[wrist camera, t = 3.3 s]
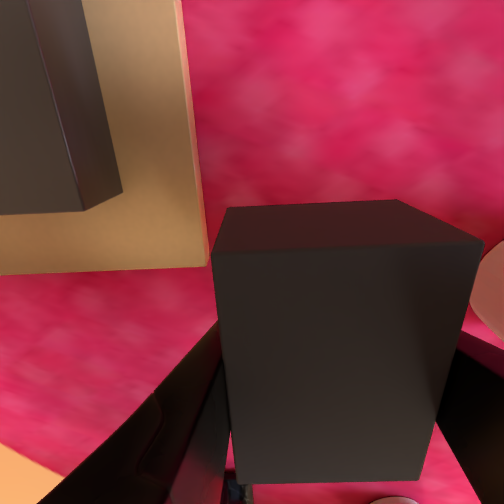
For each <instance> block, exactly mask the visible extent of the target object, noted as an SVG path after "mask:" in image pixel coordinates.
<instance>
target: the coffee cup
mask: <svg viewBox="0 0 504 504" xmlns="http://www.w3.org/2000/svg"><path fill="white" fill-rule="evenodd" d="M469 301H470V305H471V307H472V309H473V311H474V313H475V314H476V315H477V316H478V317H479V318H480V319H481V320H482V321H483V322H484V323H485V324H486V325H487V326H488V327H489V328H490V329H491V330H492V331H493V332H494V333H495V334H496V335H497V336H498V337H499V338H500V339H501V340H502V341H503V342H504V240H503V241H502V242H500V243H499V244H498V245H496V246H495V247H494V248H493V249H492V250H491V251H490V252H489V253H487V254H486V255H485V257H484V258H483V259H482V261H481V262H480V264H479V268H478V271H477V275H476V278H475V282H474V285H473V289H472V293H471V296H470V300H469Z"/></svg>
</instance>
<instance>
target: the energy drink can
mask: <svg viewBox="0 0 504 504" xmlns="http://www.w3.org/2000/svg"><path fill="white" fill-rule="evenodd" d="M370 504H418V503H417V502H416V501H414V500H412V499H409V498H405V497H387V498H382V499H379V500H376V501H373V502H372V503H370Z"/></svg>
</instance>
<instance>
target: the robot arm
mask: <svg viewBox="0 0 504 504" xmlns="http://www.w3.org/2000/svg"><path fill="white" fill-rule="evenodd" d="M436 423H437V425H438V426H439V428H440V430H441V432H442V434H443V435H444V437H445V439H446V441H447V443H448V444H449V446H450V448H451V450H452V452H453V453H454V455H455V457H456V459H457V461H458V462H459V464H460V466H461V468H462V469H463V471H464V473H465V475H466V477H467V478H468V480H469V482H470V484H471V486H472V487H473V489H474V491H475V493H476V495H477V496H478V498H479V500H480V502H481V503H482V504H504V350H502V349H500V348H498V347H496V346H494V345H492V344H490V343H487V342H485V341H483V340H481V339H479V338H477V337H475V336H472V335H470V334H468V333H466V332H464V331H462V330H461V332H460V335H459V339H458V343H457V346H456V350H455V353H454V357H453V360H452V364H451V368H450V371H449V375H448V378H447V382H446V385H445V389H444V393H443V396H442V400H441V403H440V407H439V410H438V414H437V418H436ZM230 430H231V426H230V417H229V408H228V399H227V390H226V381H225V372H224V364H223V358H222V350H221V342H220V333H219V324H218V320H217V321H216V323H215V324H214V325H213V326H212V327H211V328H210V329H209V330H208V331H207V332H206V334H205V335H204V336H203V337H202V338H201V339H200V340H199V341H198V342H197V344H196V345H195V346H194V347H193V348H192V349H191V350H190V351H189V352H188V354H187V355H186V356H185V357H184V358H183V359H182V360H181V361H180V362H179V364H178V365H177V366H176V367H175V368H174V369H173V370H172V371H171V372H170V373H169V375H168V376H167V377H166V378H165V379H164V380H163V381H162V382H161V383H160V385H159V386H158V387H157V388H156V389H155V390H154V392H153V393H151V394H150V395H149V397H148V398H147V399H146V400H145V401H144V402H143V403H142V404H141V405H140V406H139V407H138V409H137V410H136V411H135V412H134V413H133V414H132V415H131V416H130V417H129V418H128V419H127V420H126V421H125V422H124V423H123V424H122V425H121V426H120V427H119V428H118V429H117V430H116V431H115V432H114V433H113V434H112V435H111V436H110V437H109V438H108V439H107V440H105V441H104V442H103V443H102V444H101V445H100V446H99V447H98V448H97V449H96V450H95V451H94V452H93V453H91V454H90V455H89V456H88V457H87V458H86V459H85V460H84V461H83V462H82V463H81V464H80V465H79V466H77V467H76V468H75V469H74V470H73V471H72V472H71V473H70V474H69V475H68V476H67V477H66V478H65V479H63V480H62V481H61V482H60V483H59V484H58V485H57V486H56V487H55V488H54V489H53V490H52V491H51V492H49V493H48V494H47V495H46V496H45V497H44V498H43V499H41V500H40V501H39V502H38V503H37V504H254V501H253V488H252V484H238V483H237V481H236V473H224V472H225V465H226V458H227V451H228V444H229V437H230Z"/></svg>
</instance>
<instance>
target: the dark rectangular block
mask: <svg viewBox="0 0 504 504" xmlns="http://www.w3.org/2000/svg"><path fill="white" fill-rule="evenodd" d="M484 246H485V242H484V241H483V240H481V239H479V238H477V237H475V236H473V235H471V234H469V233H467V232H465V231H462V230H460V229H458V228H456V227H454V226H452V225H450V224H448V223H446V222H443V221H441V220H439V219H437V218H435V217H433V216H431V215H429V214H427V213H425V212H422V211H420V210H418V209H416V208H414V207H412V206H410V205H408V204H406V203H403V202H401V201H399V200H397V199H394V200H373V201H352V202H331V203H310V204H289V205H268V206H247V207H229V208H227V210H226V213H225V216H224V219H223V221H222V224H221V227H220V230H219V233H218V236H217V238H216V241H215V244H214V247H213V250H212V252H211V263H212V272H213V281H214V290H215V298H216V307H217V316H218V324H219V333H220V342H221V350H222V358H223V364H224V372H225V381H226V390H227V399H228V408H229V417H230V426H231V437H232V446H233V455H234V464H235V472H236V481H237V483H238V484H285V483H331V482H377V481H417V480H419V478H420V475H421V471H422V468H423V464H424V460H425V457H426V453H427V450H428V446H429V443H430V439H431V435H432V432H433V428H434V425H435V421H436V418H437V414H438V410H439V407H440V403H441V400H442V396H443V393H444V389H445V385H446V382H447V378H448V375H449V371H450V368H451V364H452V360H453V357H454V353H455V350H456V346H457V343H458V339H459V335H460V332H461V328H462V325H463V321H464V318H465V314H466V310H467V307H468V303H469V300H470V296H471V293H472V289H473V285H474V282H475V278H476V275H477V271H478V268H479V264H480V260H481V257H482V253H483V250H484Z"/></svg>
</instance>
